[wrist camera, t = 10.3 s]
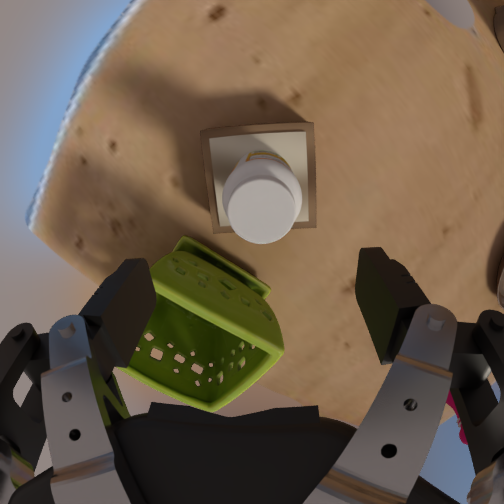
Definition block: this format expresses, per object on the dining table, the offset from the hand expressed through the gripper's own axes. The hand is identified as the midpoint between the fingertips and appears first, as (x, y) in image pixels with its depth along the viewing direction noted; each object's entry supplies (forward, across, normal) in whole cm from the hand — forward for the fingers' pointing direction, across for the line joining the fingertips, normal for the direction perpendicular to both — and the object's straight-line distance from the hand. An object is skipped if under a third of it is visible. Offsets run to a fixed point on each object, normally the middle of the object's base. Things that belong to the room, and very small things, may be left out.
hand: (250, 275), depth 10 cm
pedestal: (+21, 0, 0) cm, 21 cm away
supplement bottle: (+16, 0, 0) cm, 17 cm away
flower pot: (+21, +8, +14) cm, 26 cm away
